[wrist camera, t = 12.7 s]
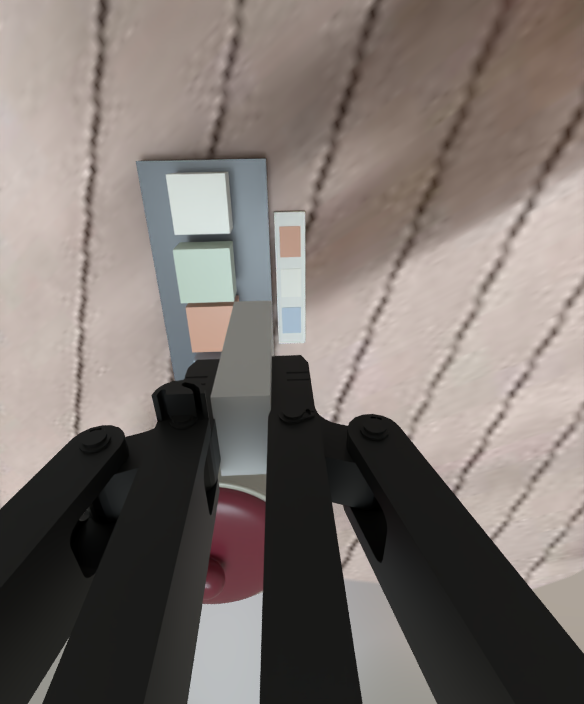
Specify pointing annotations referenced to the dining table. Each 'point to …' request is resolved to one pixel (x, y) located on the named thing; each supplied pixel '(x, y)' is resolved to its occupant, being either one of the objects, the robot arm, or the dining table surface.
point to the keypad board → (207, 239)
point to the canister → (237, 540)
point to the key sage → (205, 271)
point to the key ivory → (200, 202)
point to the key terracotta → (208, 324)
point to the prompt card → (290, 275)
